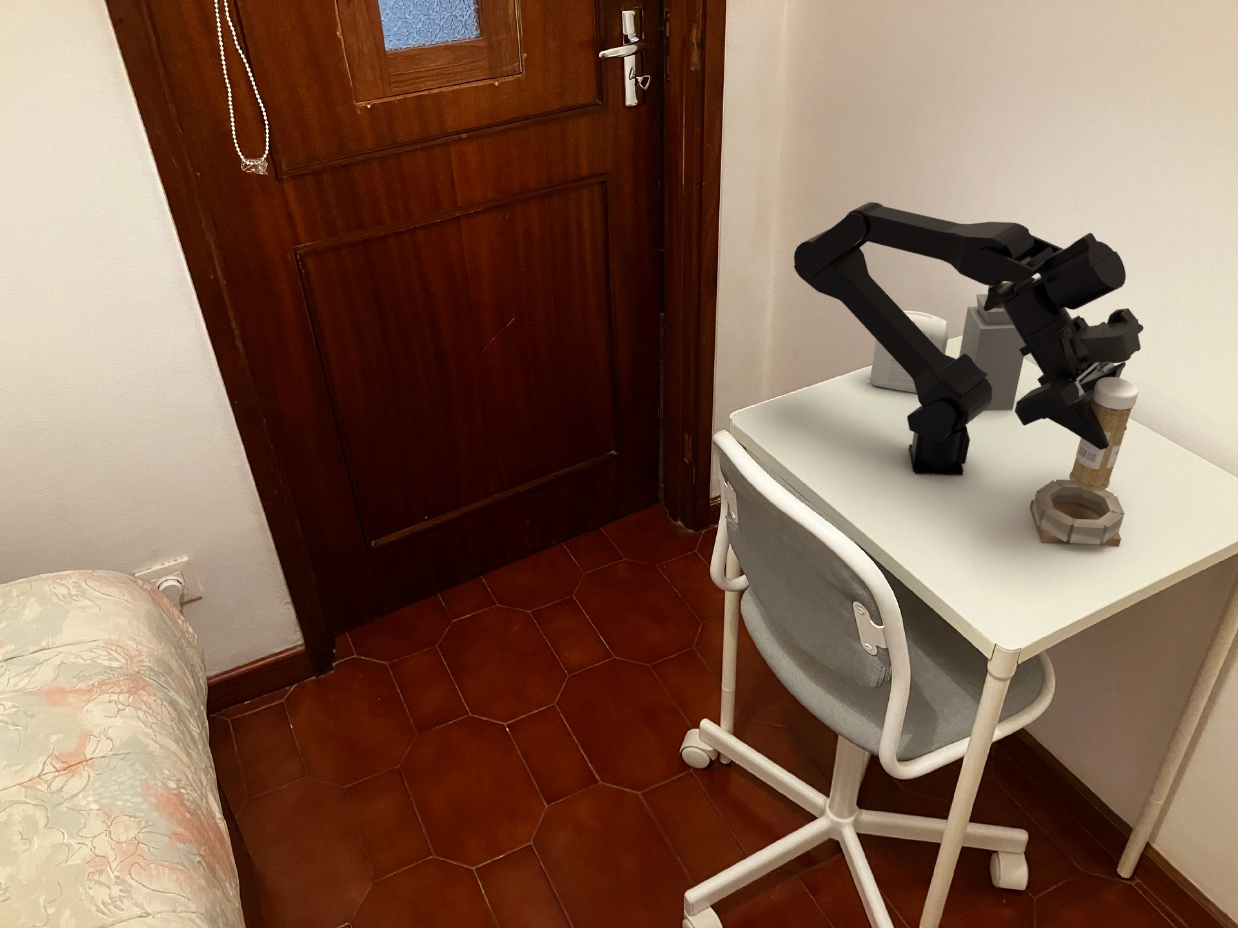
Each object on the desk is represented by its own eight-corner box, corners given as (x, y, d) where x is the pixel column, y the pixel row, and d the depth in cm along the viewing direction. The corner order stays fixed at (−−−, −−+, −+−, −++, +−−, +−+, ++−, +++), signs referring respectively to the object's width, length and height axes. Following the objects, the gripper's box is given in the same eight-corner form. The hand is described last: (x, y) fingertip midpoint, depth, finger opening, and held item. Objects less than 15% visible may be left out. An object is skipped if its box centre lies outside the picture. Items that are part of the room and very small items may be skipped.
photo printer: (941, 384, 155) (953, 311, 148) (937, 398, 152) (949, 324, 144) (872, 374, 158) (881, 302, 151) (867, 387, 155) (876, 314, 148)
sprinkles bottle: (1116, 490, 121) (1148, 393, 114) (1081, 495, 120) (1111, 397, 113) (1094, 469, 125) (1124, 373, 117) (1060, 473, 124) (1088, 377, 117)
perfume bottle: (1012, 409, 148) (1036, 297, 138) (965, 411, 148) (986, 299, 138) (998, 386, 154) (1021, 276, 143) (953, 387, 154) (972, 278, 143)
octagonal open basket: (1041, 549, 123) (1047, 525, 121) (1025, 501, 130) (1031, 478, 128) (1124, 553, 122) (1131, 529, 119) (1103, 504, 129) (1110, 481, 127)
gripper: (1065, 325, 106) (1142, 453, 106) (1140, 268, 117) (1211, 384, 117) (982, 365, 115) (1054, 482, 115) (1059, 308, 126) (1125, 416, 126)
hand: (1113, 439), depth 118 cm, fingers closed on sprinkles bottle, 4 cm apart
